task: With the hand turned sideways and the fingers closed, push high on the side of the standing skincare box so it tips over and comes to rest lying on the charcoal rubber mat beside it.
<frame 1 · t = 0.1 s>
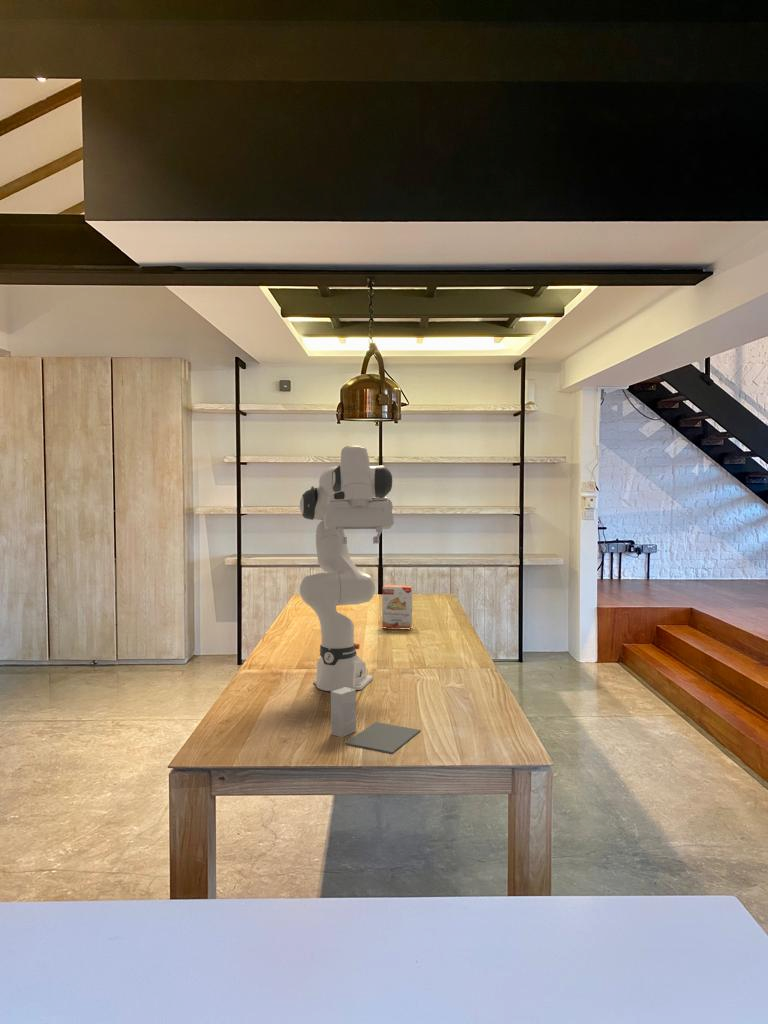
hand: (360, 543, 194), 52 cm above the table, tool tilted 20°, fingers open, 8 cm apart
mat: (383, 737, 184), on the table
cracker box: (397, 629, 329), on the table
skincare box: (343, 733, 187), on the table
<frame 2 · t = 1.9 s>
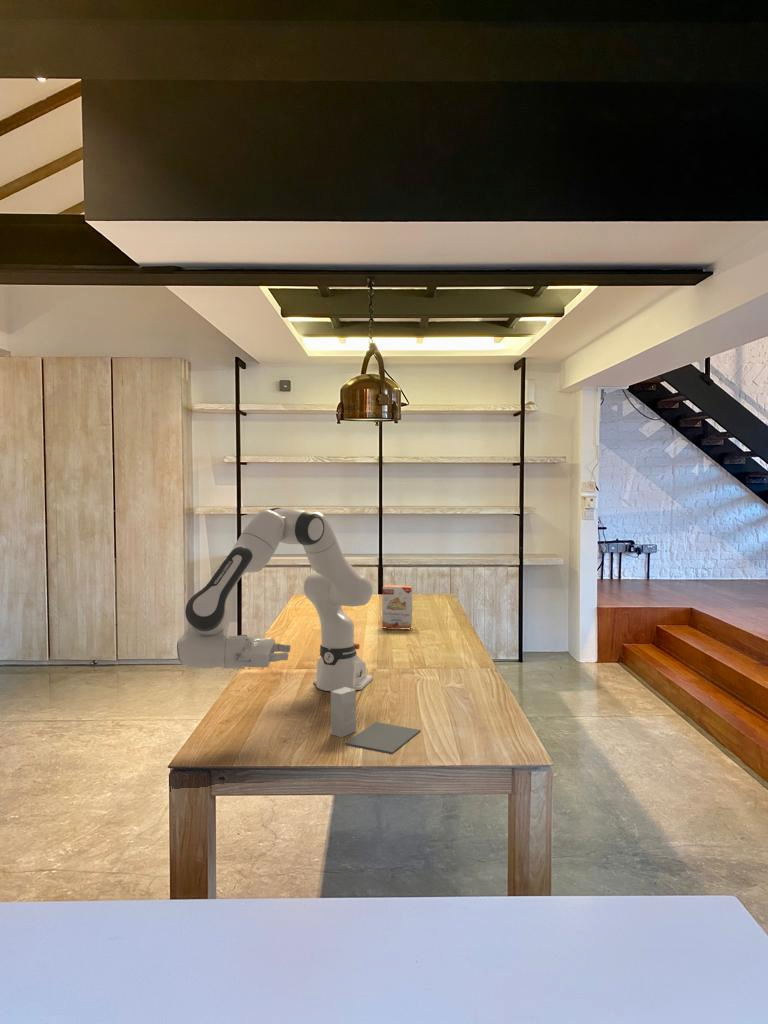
hand: (289, 652, 185), 23 cm above the table, tool horizontal, fingers open, 8 cm apart
nothing on the table moved.
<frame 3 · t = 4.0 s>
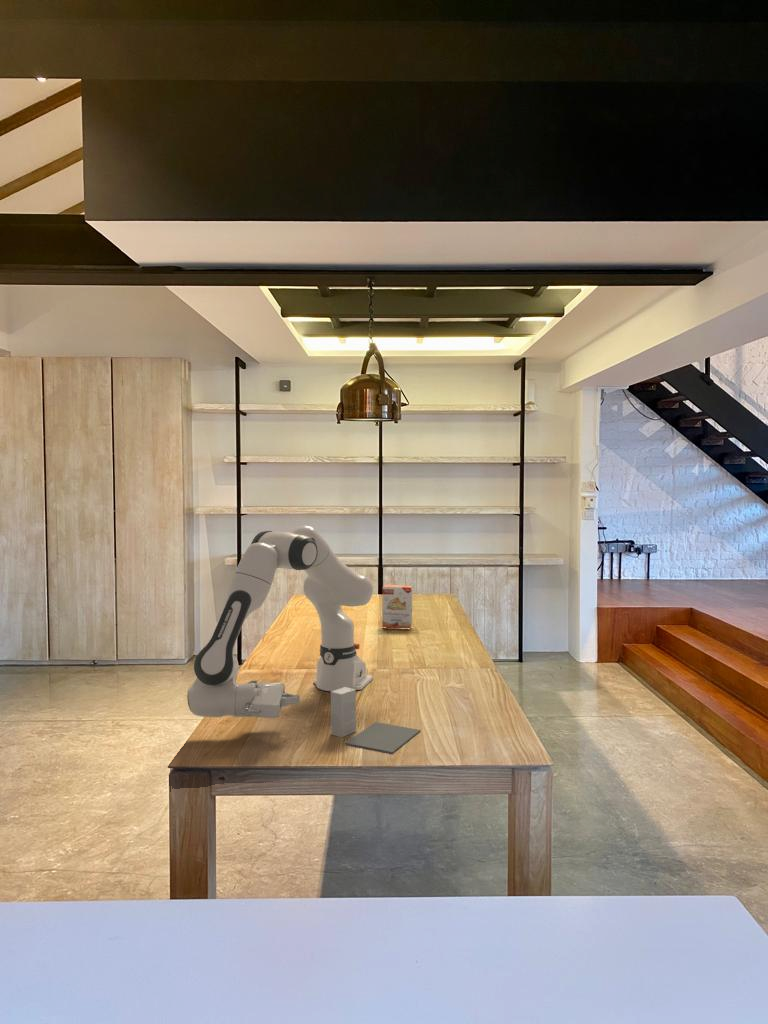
hand: (299, 699, 186), 10 cm above the table, tool horizontal, fingers closed
nothing on the table moved.
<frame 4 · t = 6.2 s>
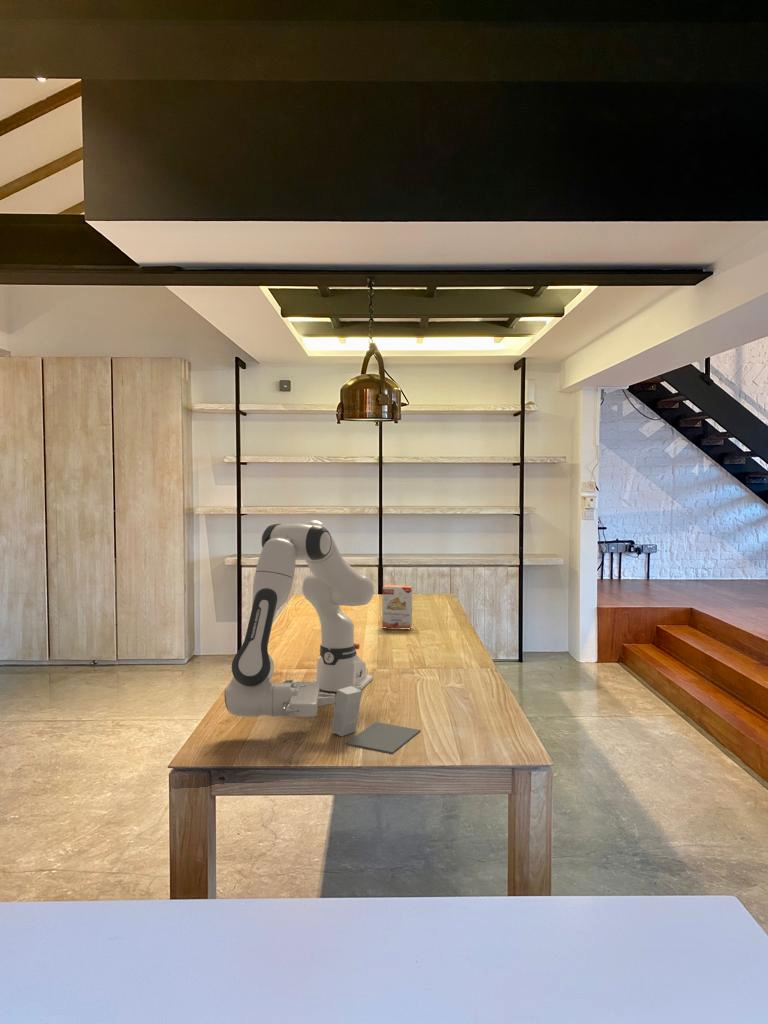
hand: (335, 698, 187), 10 cm above the table, tool horizontal, fingers closed
skincare box: (343, 732, 187), on the table, touching gripper
everything else where it was.
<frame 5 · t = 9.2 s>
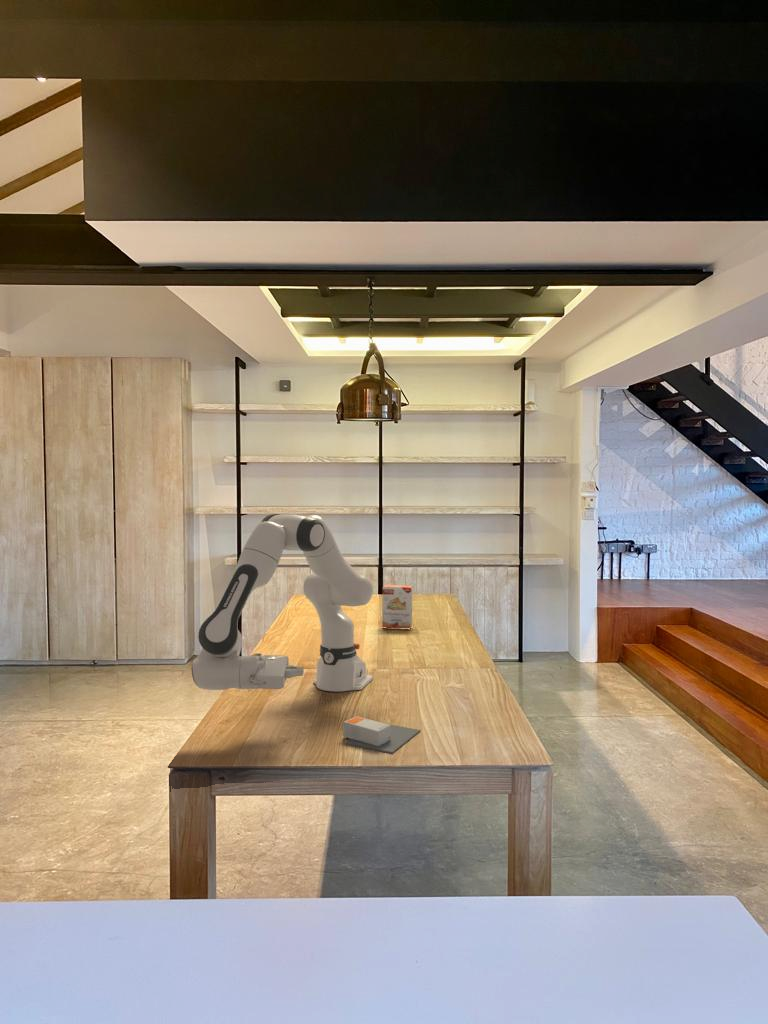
hand: (303, 671, 186), 17 cm above the table, tool horizontal, fingers closed
skincare box: (348, 725, 186), point 3 cm above the table, touching mat
everything else where it was.
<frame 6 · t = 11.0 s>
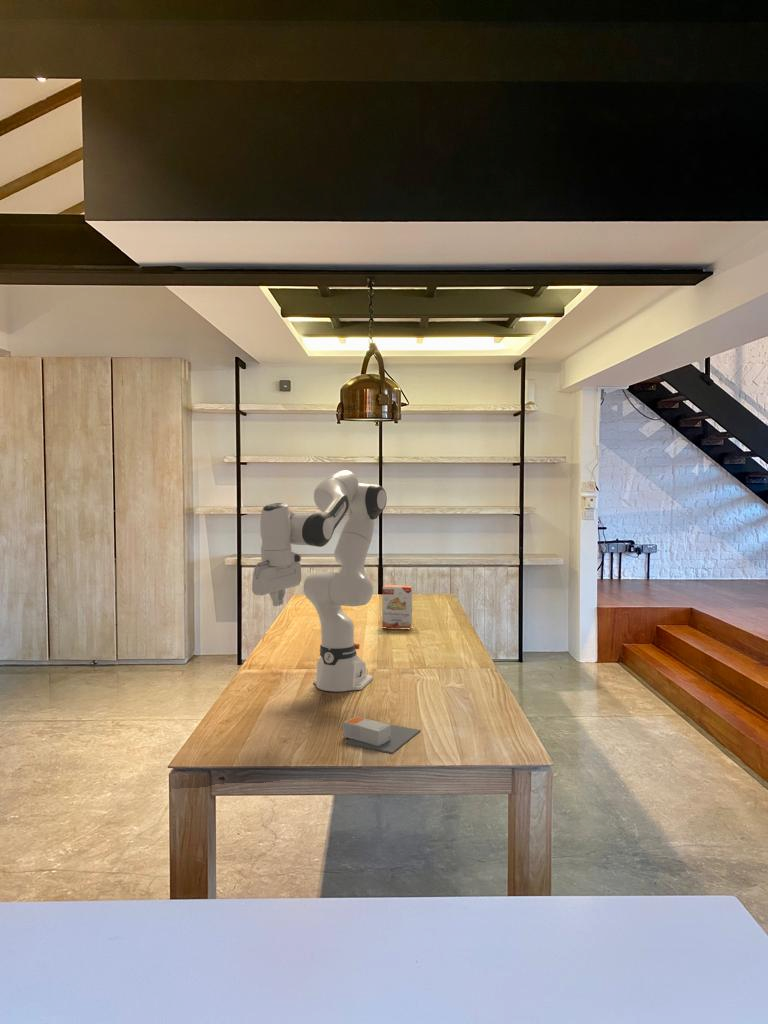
hand: (278, 605, 199), 33 cm above the table, tool pointing down, fingers closed
nothing on the table moved.
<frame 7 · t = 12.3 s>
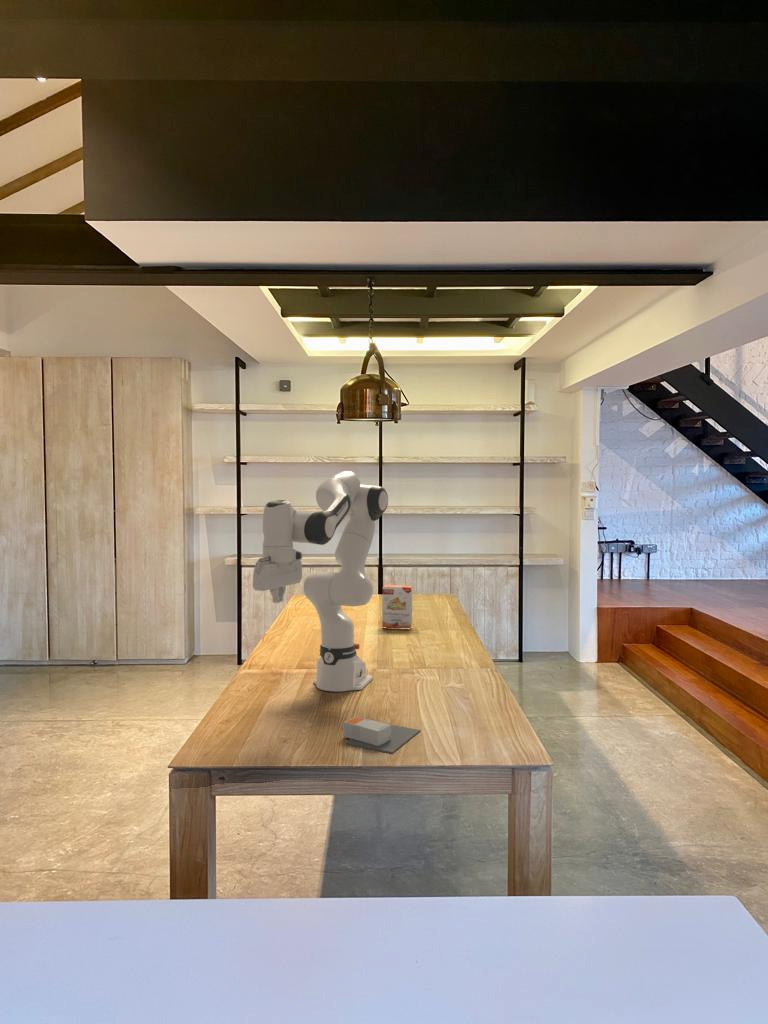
hand: (278, 602, 200), 34 cm above the table, tool pointing down, fingers closed
nothing on the table moved.
at the end: skincare box tilted 91°; skincare box touching mat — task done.
